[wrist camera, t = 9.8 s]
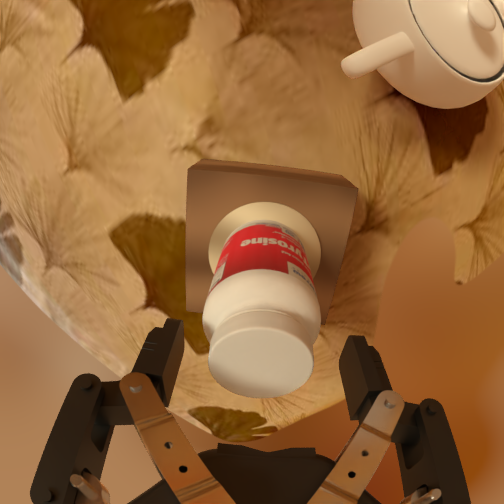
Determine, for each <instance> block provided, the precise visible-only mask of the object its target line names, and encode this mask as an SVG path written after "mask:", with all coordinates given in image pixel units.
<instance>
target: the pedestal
mask: <svg viewBox="0 0 504 504" xmlns="http://www.w3.org/2000/svg"><path fill="white" fill-rule="evenodd" d="M357 194H358V188H357V187H355V186H354V185H353V184H352V183H351V182H349V181H348V180H347V179H346V178H344V177H343V176H342V175H337V174H331V173H324V172H318V171H311V170H304V169H297V168H289V167H281V166H273V165H264V164H255V163H245V162H234V161H222V160H209V159H201V160H200V161H199V162H197V163H196V164H194V165H193V166H191V167H190V168H189V169H188V175H187V202H186V311H191V312H198V313H203V311H204V306H205V302H206V299H207V296H208V293H209V290H210V287H211V283H212V280H213V276H214V273H215V270H216V267H217V264H218V261H219V258H220V255H221V252H222V249H223V246H224V244H225V242H226V240H227V238H228V237H229V236H230V234H231V233H232V232H233V231H234V230H235V229H237V228H238V227H240V226H241V225H243V224H245V223H247V222H251V221H254V220H272V221H276V222H279V223H281V224H284V225H285V226H287V227H289V228H290V229H292V230H293V231H294V232H295V233H296V234H297V235H298V237H299V238H300V240H301V241H302V243H303V246H304V249H305V252H306V255H307V259H308V263H309V267H310V271H311V275H312V279H313V282H314V287H315V290H316V295H317V299H318V303H319V306H320V314H321V325H325V322H326V319H327V315H328V312H329V309H330V305H331V302H332V298H333V294H334V291H335V287H336V284H337V280H338V276H339V272H340V268H341V264H342V260H343V256H344V252H345V248H346V244H347V240H348V236H349V231H350V227H351V222H352V218H353V213H354V208H355V204H356V199H357Z"/></svg>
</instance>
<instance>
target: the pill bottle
mask: <svg viewBox="0 0 504 504" xmlns="http://www.w3.org/2000/svg"><path fill="white" fill-rule="evenodd" d="M320 326H321V314H320V306H319V303H318V299H317V295H316V290H315V287H314V282H313V279H312V275H311V271H310V267H309V263H308V259H307V255H306V252H305V249H304V246H303V243H302V241H301V240H300V238H299V237H298V235H297V234H296V233H295V232H294V231H293V230H292V229H290V228H289V227H287V226H285V225H284V224H281V223H279V222H276V221H272V220H254V221H251V222H247V223H245V224H243V225H241V226H240V227H238V228H237V229H235V230H234V231H233V232H232V233H231V234H230V236H229V237H228V238H227V240H226V242H225V244H224V246H223V249H222V252H221V255H220V258H219V261H218V264H217V267H216V270H215V273H214V276H213V280H212V283H211V287H210V290H209V293H208V296H207V299H206V302H205V306H204V311H203V327H204V331H205V334H206V337H207V339H208V341H209V342H210V351H209V357H208V365H209V370H210V372H211V374H212V376H213V377H214V379H215V380H216V381H217V382H218V383H219V384H220V385H221V386H223V387H224V388H225V389H227V390H229V391H231V392H233V393H235V394H238V395H242V396H245V397H251V398H273V397H279V396H282V395H286V394H288V393H291V392H293V391H295V390H296V389H298V388H300V387H301V386H302V385H303V384H305V382H306V381H307V380H308V379H309V377H310V376H311V374H312V371H313V367H314V356H313V344H314V342H315V341H316V339H317V336H318V334H319V331H320Z"/></svg>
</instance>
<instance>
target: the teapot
mask: <svg viewBox="0 0 504 504" xmlns="http://www.w3.org/2000/svg"><path fill="white" fill-rule="evenodd" d="M413 14H414V16H415V19H416V21H417V23H418V25H419V27H420V29H421V31H422V32H423V34H424V36H425V37H426V39H427V40H428V41H429V43H430V44H431V46H432V47H433V48H434V49H435V50H436V52H437V53H438V54H439V56H438V54H437V53H436V52H435V51H434V50H433V49H432V47H431V46H430V44H429V43H428V42H427V40H426V39H425V37H424V36H423V34H422V32H421V31H420V29H419V27H418V25H417V23H416V22H415V19H414V17H413ZM352 17H353V22H354V28H355V31H356V34H357V37H358V39H359V42H360V45H361V46H362V48H363V49H361V50H359V51H357V52H355V53H353V54H351V55H349V56H347V57H346V58H344V59H343V60H342V61H341V68H342V70H343V72H344V73H345V74H346V75H347V76H348V77H349V78H352V79H356V78H359V77H361V76H363V75H365V74H367V73H369V72H372V71H374V70H377V71H378V72H379V74H380V75H381V76H382V77H383V78H384V79H385V80H386V81H387V82H388V83H389V84H390V85H391V86H393V87H394V88H395V89H397V90H398V91H399V92H401V93H402V94H403V95H405V96H407V97H408V98H410V99H412V100H414V101H416V102H418V103H421V104H424V105H427V106H430V107H434V108H442V109H451V108H461V107H464V106H467V105H470V104H472V103H475V102H477V101H479V100H480V99H482V98H483V97H485V96H486V95H487V94H488V93H490V92H491V91H492V90H493V89H495V88H496V87H497V86H498V85H499V84H500V83H501V82H502V81H503V80H504V0H353V9H352Z"/></svg>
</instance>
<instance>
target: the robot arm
mask: <svg viewBox="0 0 504 504" xmlns="http://www.w3.org/2000/svg"><path fill="white" fill-rule="evenodd" d="M183 353H184V328H183V320H177V319H170V318H167V319H166V322H165V324H164V327H163V328H159V327H155V328H154V329H153V330H152V331H151V332H149V333H148V336H147V338H146V340H145V343H144V344H143V347H142V349H141V351H140V354H139V356H138V358H137V360H136V363H135V365H134V367H133V370H132V372H131V373H129V374H127V375H125V376H124V377H123V378H122V379H121V380H120V381H113V382H112V381H110V382H101V381H100V379H99V378H98V377H97V376H95V375H93V374H82V375H79V376H78V377H77V378H76V379H75V380H74V381H73V383H72V385H71V387H70V390H69V392H68V394H67V396H66V398H65V400H64V403H63V405H62V407H61V409H60V412H59V414H58V417H57V419H56V421H55V424H54V426H53V429H52V431H51V434H50V436H49V439H48V441H47V444H46V446H45V449H44V451H43V454H42V457H41V460H40V462H39V465H38V468H37V471H36V474H35V477H34V480H33V483H32V486H31V490H30V497H31V500H32V502H33V503H34V504H110V494H109V492H108V490H107V488H106V487H105V486H104V485H103V484H102V483H101V482H100V478H101V474H102V470H103V466H104V462H105V459H106V455H107V451H108V448H109V444H110V441H111V437H112V434H113V430H114V427H115V425H134V426H135V428H136V430H137V432H138V434H139V436H140V438H141V440H142V442H143V444H144V446H145V448H146V450H147V452H148V454H149V456H150V458H151V460H152V462H153V464H154V465H155V468H156V469H157V471H158V473H159V475H160V476H161V478H162V480H161V481H159V482H158V483H157V484H155V485H154V486H152V487H151V488H150V489H148V490H147V491H145V492H144V493H142V494H141V495H140V496H138V497H137V498H135V499H134V500H132V501H131V502H129V503H128V504H381V503H380V502H379V501H378V500H376V499H375V498H374V497H373V496H372V495H371V494H369V493H368V492H367V491H366V490H365V488H366V486H367V484H368V482H369V481H370V479H371V477H372V476H373V474H374V472H375V470H376V468H377V467H378V465H379V463H380V461H381V459H382V458H383V456H384V454H385V452H386V450H387V448H388V446H389V444H390V442H394V443H395V445H396V450H397V455H398V460H399V466H400V471H401V477H402V483H403V490H404V497H405V498H404V499H403V500H402V501H401V503H400V504H471V501H470V497H469V492H468V488H467V484H466V480H465V476H464V472H463V469H462V465H461V461H460V458H459V455H458V451H457V448H456V445H455V442H454V439H453V435H452V432H451V429H450V426H449V423H448V420H447V417H446V415H445V412H444V409H443V407H442V405H441V404H440V403H439V402H438V401H436V400H434V399H425V400H423V401H422V402H421V403H420V405H418V404H413V403H407V402H404V400H403V398H402V397H401V396H400V395H399V394H398V393H396V392H394V391H393V390H392V387H391V385H390V382H389V379H388V376H387V374H386V371H385V369H384V366H383V363H382V360H381V357H380V355H379V353H378V352H377V350H376V349H375V348H374V347H373V346H368V344H367V341H366V339H365V337H364V336H355V335H349V336H348V338H347V341H346V343H345V346H344V348H343V351H342V353H341V356H340V359H339V370H340V374H341V378H342V383H343V387H344V392H345V396H346V401H347V405H348V410H349V415H350V420H359V425H358V427H357V429H356V430H355V432H354V433H353V435H352V436H351V438H350V439H349V441H348V443H347V444H346V445H345V447H344V449H343V450H342V451H341V453H340V454H339V456H338V457H337V458H336V460H335V461H333V460H331V459H329V458H327V457H325V456H322V455H319V454H316V452H315V448H289V449H284V450H279V451H274V452H263V451H259V450H256V449H252V448H249V447H245V446H242V445H231V444H222V443H218V447H217V449H212V450H207V451H204V452H201V453H198V454H197V453H196V452H195V450H194V448H193V447H192V445H191V444H190V442H189V441H188V439H187V438H186V436H185V435H184V433H183V431H182V430H181V428H180V426H179V425H178V423H177V422H176V420H175V418H174V417H173V415H172V414H169V413H168V411H167V410H166V408H165V407H168V406H169V403H170V399H171V396H172V392H173V389H174V385H175V381H176V378H177V374H178V371H179V367H180V364H181V361H182V357H183Z"/></svg>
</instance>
